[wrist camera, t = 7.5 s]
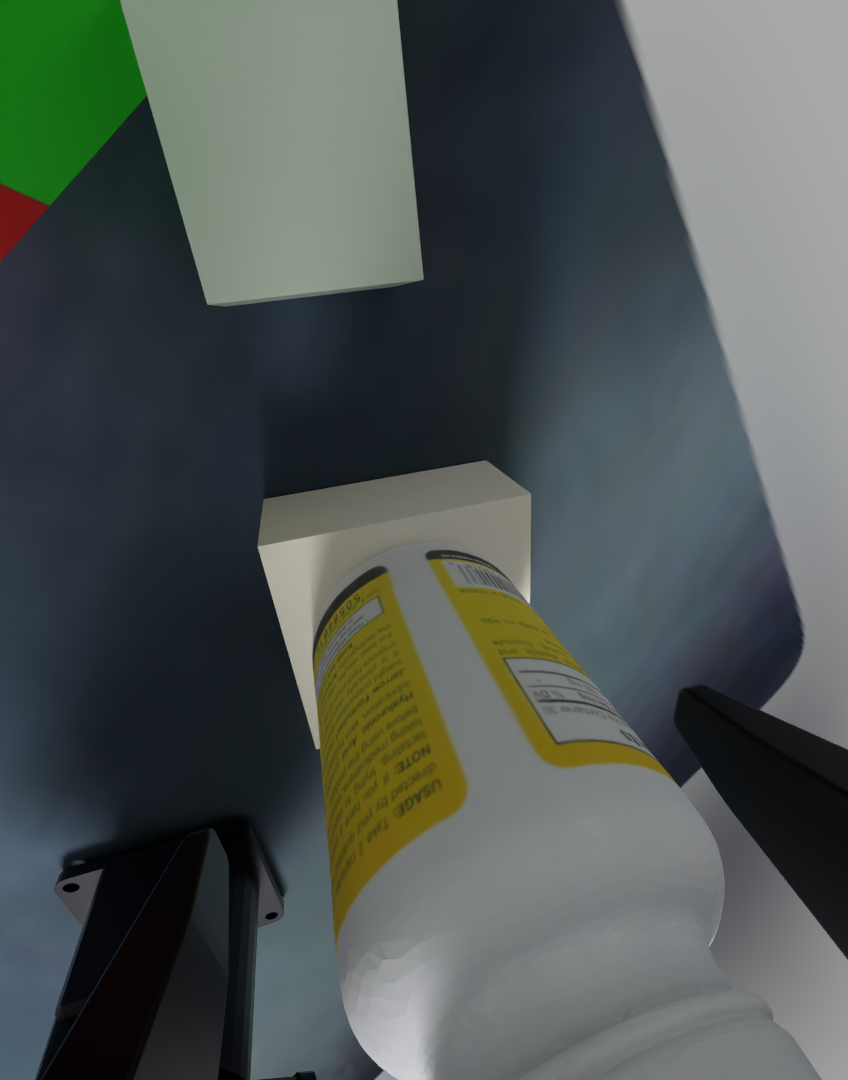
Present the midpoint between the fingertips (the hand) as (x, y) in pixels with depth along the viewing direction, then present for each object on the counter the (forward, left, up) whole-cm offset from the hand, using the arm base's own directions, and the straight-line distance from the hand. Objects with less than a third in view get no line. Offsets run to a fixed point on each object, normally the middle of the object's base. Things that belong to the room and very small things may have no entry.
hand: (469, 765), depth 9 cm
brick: (+10, +1, -7) cm, 12 cm away
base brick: (0, 0, -7) cm, 7 cm away
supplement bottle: (0, 0, -4) cm, 4 cm away
